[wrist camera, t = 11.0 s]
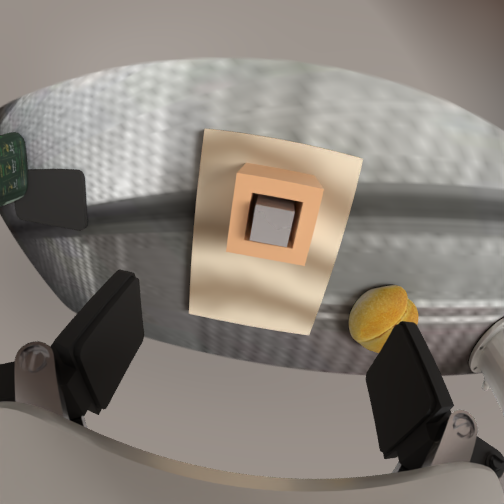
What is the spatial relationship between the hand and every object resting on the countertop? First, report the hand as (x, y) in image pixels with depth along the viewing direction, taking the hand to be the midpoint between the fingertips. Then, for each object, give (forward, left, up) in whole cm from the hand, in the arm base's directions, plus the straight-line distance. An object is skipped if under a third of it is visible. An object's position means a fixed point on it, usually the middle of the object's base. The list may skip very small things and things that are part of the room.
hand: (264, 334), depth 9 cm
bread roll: (-17, -8, -18) cm, 26 cm away
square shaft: (0, 0, -17) cm, 17 cm away
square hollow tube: (0, 0, -17) cm, 17 cm away
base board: (-4, +2, -18) cm, 19 cm away
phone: (+11, +26, -19) cm, 34 cm away
